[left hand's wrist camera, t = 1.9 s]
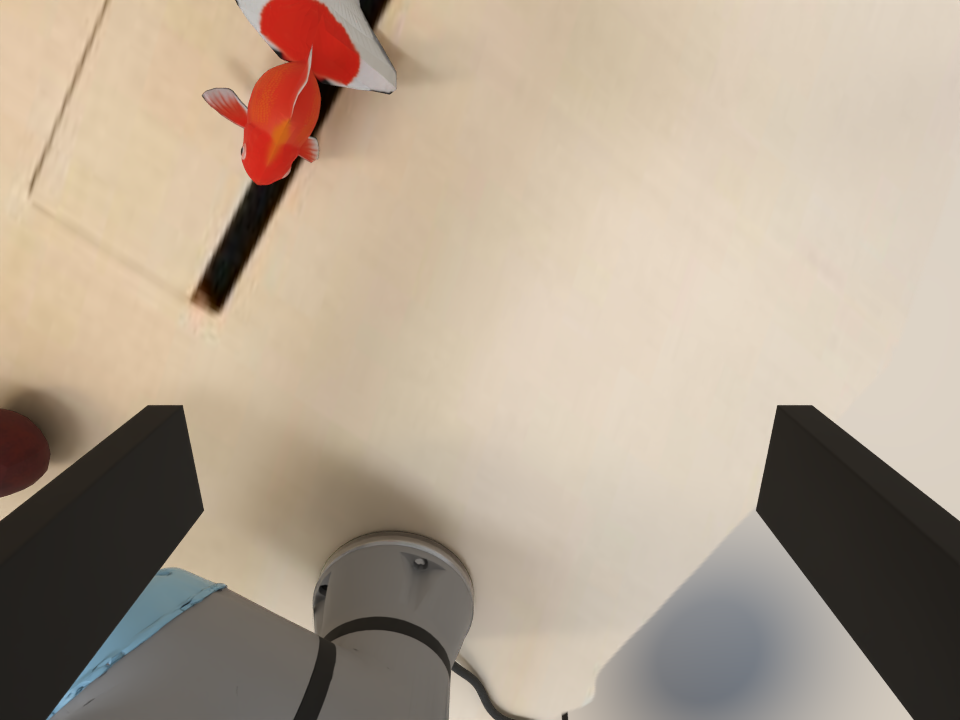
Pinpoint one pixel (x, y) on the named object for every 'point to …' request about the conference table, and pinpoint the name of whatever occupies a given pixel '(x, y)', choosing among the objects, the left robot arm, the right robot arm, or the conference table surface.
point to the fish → (300, 78)
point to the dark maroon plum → (20, 452)
